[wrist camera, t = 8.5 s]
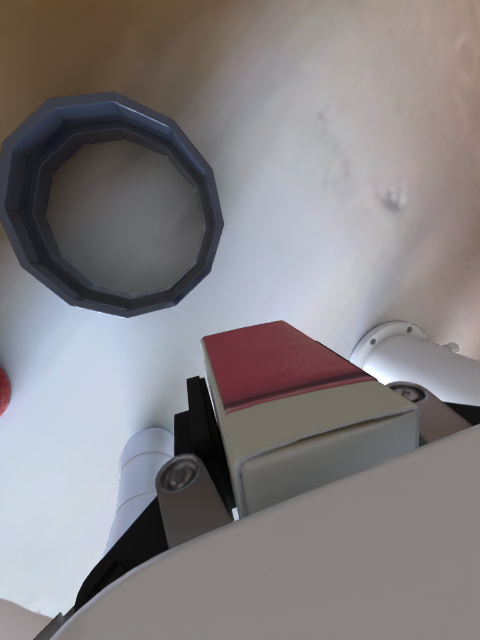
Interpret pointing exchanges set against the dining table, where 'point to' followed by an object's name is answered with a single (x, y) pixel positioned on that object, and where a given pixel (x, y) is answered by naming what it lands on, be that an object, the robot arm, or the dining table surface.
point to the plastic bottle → (139, 477)
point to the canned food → (4, 391)
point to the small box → (297, 414)
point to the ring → (57, 147)
